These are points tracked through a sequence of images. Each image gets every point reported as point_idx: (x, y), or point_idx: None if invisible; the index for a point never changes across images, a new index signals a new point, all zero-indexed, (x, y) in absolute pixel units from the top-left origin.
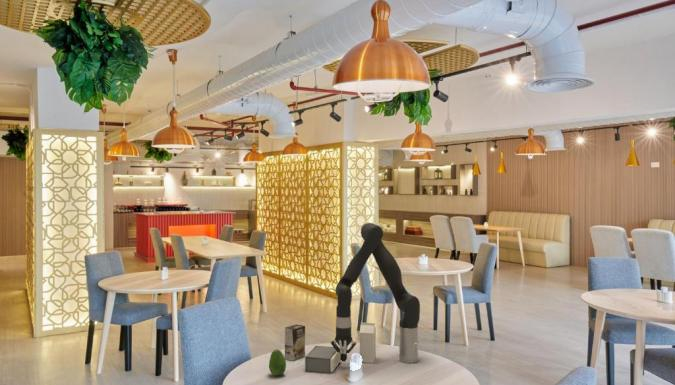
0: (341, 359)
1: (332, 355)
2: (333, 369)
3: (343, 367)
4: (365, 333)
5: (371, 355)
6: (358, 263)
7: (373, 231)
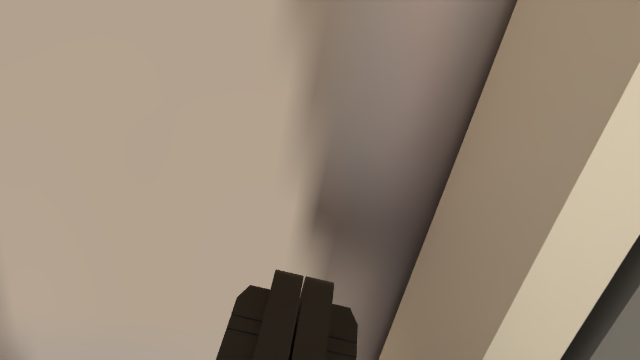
0: (336, 315)
1: (592, 345)
2: (520, 13)
3: (315, 248)
4: None
5: None
6: None
7: None
